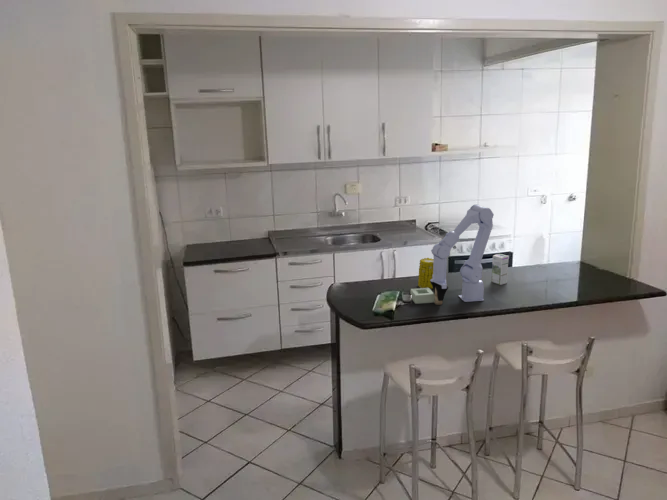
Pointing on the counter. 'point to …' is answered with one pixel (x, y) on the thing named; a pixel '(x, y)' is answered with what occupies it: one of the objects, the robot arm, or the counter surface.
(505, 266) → the syrup box
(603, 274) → the counter surface
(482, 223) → the robot arm
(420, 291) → the socket block
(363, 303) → the counter surface
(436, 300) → the beech peg
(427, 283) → the food
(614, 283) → the counter surface
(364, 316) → the counter surface
